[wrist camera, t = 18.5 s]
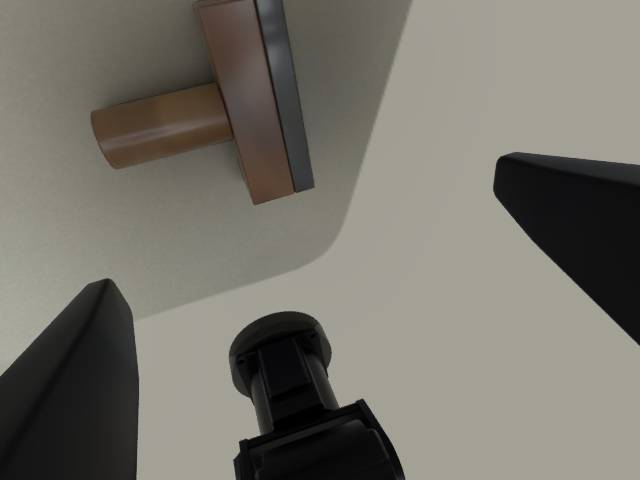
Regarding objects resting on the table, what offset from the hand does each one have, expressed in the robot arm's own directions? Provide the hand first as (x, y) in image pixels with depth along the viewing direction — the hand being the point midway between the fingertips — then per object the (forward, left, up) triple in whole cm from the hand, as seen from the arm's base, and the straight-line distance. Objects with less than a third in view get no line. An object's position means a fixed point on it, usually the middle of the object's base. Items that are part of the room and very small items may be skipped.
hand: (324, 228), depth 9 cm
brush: (0, -2, -10) cm, 11 cm away
